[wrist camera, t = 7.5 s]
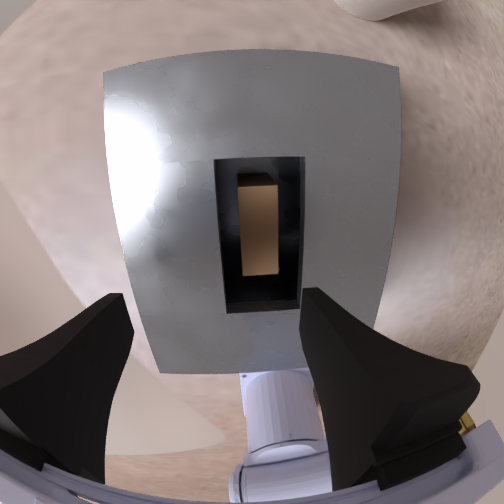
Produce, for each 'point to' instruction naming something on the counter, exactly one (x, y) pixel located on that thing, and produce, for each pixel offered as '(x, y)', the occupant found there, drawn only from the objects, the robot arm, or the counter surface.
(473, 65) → the counter surface
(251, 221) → the brown block
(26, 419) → the robot arm
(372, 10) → the dixie cup
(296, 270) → the money box
